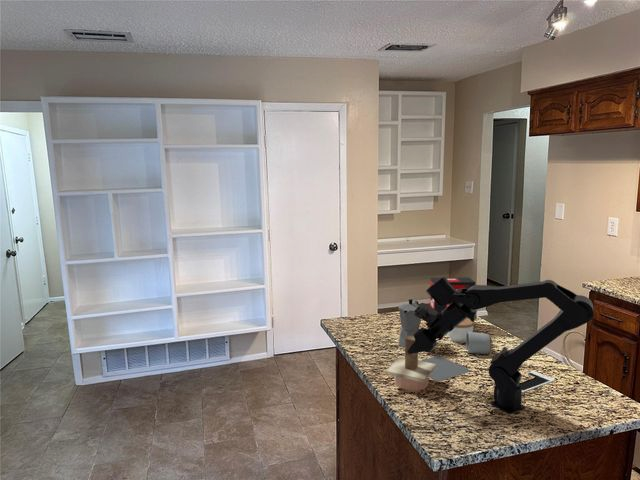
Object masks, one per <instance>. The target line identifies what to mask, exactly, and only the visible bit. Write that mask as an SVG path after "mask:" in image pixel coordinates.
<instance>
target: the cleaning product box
mask: <svg viewBox="0 0 640 480" xmlns="http://www.w3.org/2000/svg"><path fill="white" fill-rule="evenodd" d="M441 278H442V277H430V286H429V287H431V286H432V285H433V284H434V283H436V282H437V281H439V280H440V279H441ZM445 278H446V279H447V280H448V282H449V283H450V284H451V285H452V286H453V287H454V288H455V289H456V291H457V290H458V289H465V288H470V287H472V286H474V285H476V281H474V280H473V278H470V277H468V276H467V277H466V276H465V277H445ZM429 296H430V295H429ZM453 302H454V301H453V300H451V301H450V302H449V303H448V304H446V305H445V306H444V305H442V306H441V305H438V304H437V303H436V302H435V301H434V300H433V298H432V297H431V296H430V297H429V306H430V307H432V308H433V309H435V310H436V311H437V312H440V311H441V310H442V311H443V310H444V309H445V308H447V307H448V306H449V305H450V304H451V303H453ZM467 318H468V317H467ZM473 330H475V326H474V327H473Z"/></svg>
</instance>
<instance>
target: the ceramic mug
mask: <svg viewBox="0 0 640 480" xmlns="http://www.w3.org/2000/svg"><path fill="white" fill-rule="evenodd" d="M492 339H493V338H492V336H491V335H490V334H488V333H481V332H475V331H473V332H467V335H466V342H465V349H466V351H467V352H466V354H481V355H490V353H492V348H493V341H492Z"/></svg>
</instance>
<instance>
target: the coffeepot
mask: <svg viewBox="0 0 640 480" xmlns="http://www.w3.org/2000/svg"><path fill="white" fill-rule="evenodd" d="M419 304H420V303H419V301H417V300H415V301H414V302H413V299H411V298H410V299H408V303H402V304H400V305H398V312H399V319H400V325H401V328H400V332H399V338H398V346H399V347H400V348H405V338H406V337H408V336H414V334H415V333H416V332H417V331H418V330H419V329H420V325H421V324H422V323H421V322H422V319H420V318H418V317H416V316H415V315H414V312H415V310H416V308H417V306H418V305H419Z"/></svg>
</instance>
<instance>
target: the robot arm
mask: <svg viewBox="0 0 640 480" xmlns="http://www.w3.org/2000/svg"><path fill="white" fill-rule="evenodd" d="M440 278H441V279H440V280H439V281H437V282H436V283H434V284H433V285H432V286H431V287H430V286H429V288H427V289H426V290H425V292H426V293H427V294H428V295H429V296H431V297H432V298H433V300H434V301H435V302H436V303H437V304H438V305H441V306H442V305H444V306H445V305H446V304H448V303H449V302H450V301H451V300H453V301H454V302H453V303H451V304H450V305H449V306H448V307H447V308H445V309H444V310H443V311H442V310H441V311H440V312H437V311H436V310H435V309H433V308H432V307H430V305H428V304H427V303H424V302H420V303H419V305H418V306H417V308H416V310H415V312H414V315H415V316H416V317H418V318H420V319H421V321H424V322H426V323H425V326H426V327H427V328H425V327H420V328H419V330H418V331H417V332H416V333H415V334H414V338H415V341H414V343H413V344H412V345H411V347H410V348H409V349H408V351H407V352H408V353H409V354H414V353H418V354H419V353H425V352H426V353H429V352H431V351H432V350H434V348H435V347H436V346H437V340H440V341H441V340H442V339H443V338H444V337H445V336H446V335H447V333H448V332H451V331H452V330H453V329H454V328H455V327H456V326H457V325H459V324H460V323H461V322H462V321H464V320H465V319H466V318H467V317H468V318H469V319H470V320H471V321H472V322H474V323H475V321H476V320H477V317H478V316H477V313H478V310H480V309H485V308H487V307H490V306H492V305H493V306H494V305H496V304H499V303H506V302H514V301H526V300H534V299H542V298H543V299H545V298H546V299H547V300H548V301H550V302H551V303H553V305H555V307H557V308H558V309H559V311H558V312H557V314H556V315H555V316H554V317H553V318H552V319H551V320H550V321H548V322H547V323H545V324H544V325H543V326H541V328H539V329H538V330H537V331H535V332H534V333H532V334H531V335H530V336H529V337H527V338H526V339H524V341H522V342H521V343H519V344H518V345H517V346H516V347H515V348H512V349H509V350H508V348H507V347H506V346H504V347H503V348H502V349H501V350H500V351H499V352H496V353H494V355H493V356H492V359H491V361H490V365H489V367H488V375H489V377H490V379H491V380H492V381H493V382H494V384H495V385H494V386H493V401H490V405H491V406H493V407H495V408H497V409H499V410H501V411H503V412H505V413H507V414H509V415H512V414H513V413H516V412H519V411H521V410H524V409H525V408H526V407H525V405H524V404H522V398H523V397H522V394H523V393H522V388H521V387H520V386H519V383H521V381H522V380H521V379H522V376H523V375H522V373H521V372H520V371H519V369H520V368H521V366H522V365H524V363H525V362H526V361H528V360H529V359H530V358H532V357H534V356H535V355H536V354H537V353H539V352H541V351H542V349H544V348H545V347H547V346H548V345H549V344H551V343H552V342H554V340H556V339H557V338H559V337H560V336H561V335H563V334H564V333H566V332H567V331H571V330H574V329H578V328H579V327H582V326H584V325H585V324H587V323H589V322H591V321H592V319H593V318H594V304H593V302H592V300H591V299H590V298H589V297H587V296H585V295H582V294H581V295H580V294H579V295H578V294H576V293H575V292H574V291H572V290H570V289H567V288H565V287H564V286H561V285H559V284H558V283H556V282H555V281H554V280H552V279H545V280H543V281H537V282H536V281H534V282H529V283H528V282H526V283H519V284H513V285H503V286H501V285H500V286H495V285H485V284H475V285H474V286H472V287H470V288H465V289H458V290H457V291H456V289H455V288H454V287H453V286H452V285H451V284H450V283H449V282H448V280H447V279H446V278H447V277H445V276H442V277H440Z"/></svg>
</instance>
